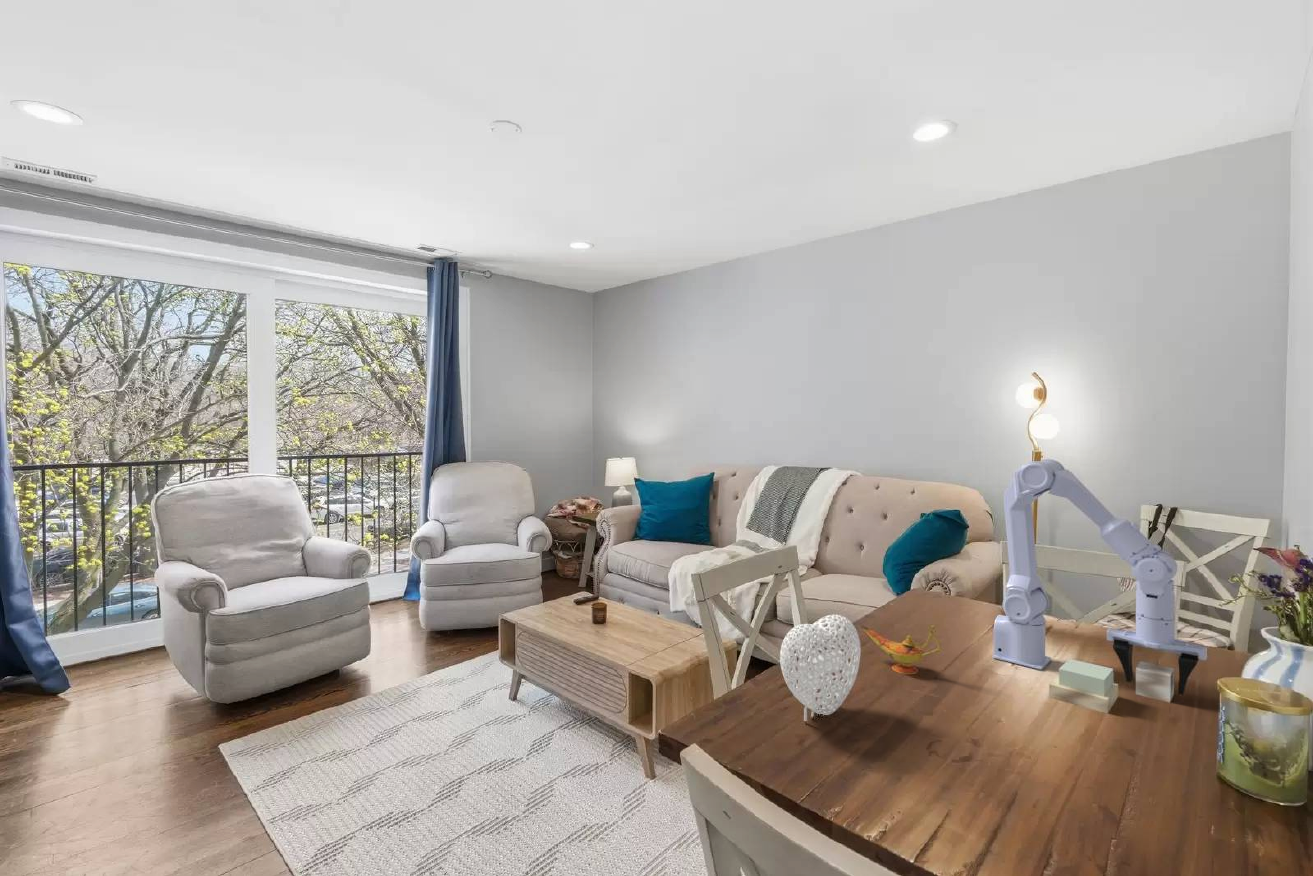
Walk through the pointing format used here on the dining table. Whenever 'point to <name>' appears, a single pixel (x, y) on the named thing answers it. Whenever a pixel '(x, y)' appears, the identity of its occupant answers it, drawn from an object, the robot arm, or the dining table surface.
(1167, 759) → the dining table surface
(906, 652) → the magic lamp
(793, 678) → the decorative heart
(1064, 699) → the birch slab
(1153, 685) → the ivory cube
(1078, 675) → the sage block
